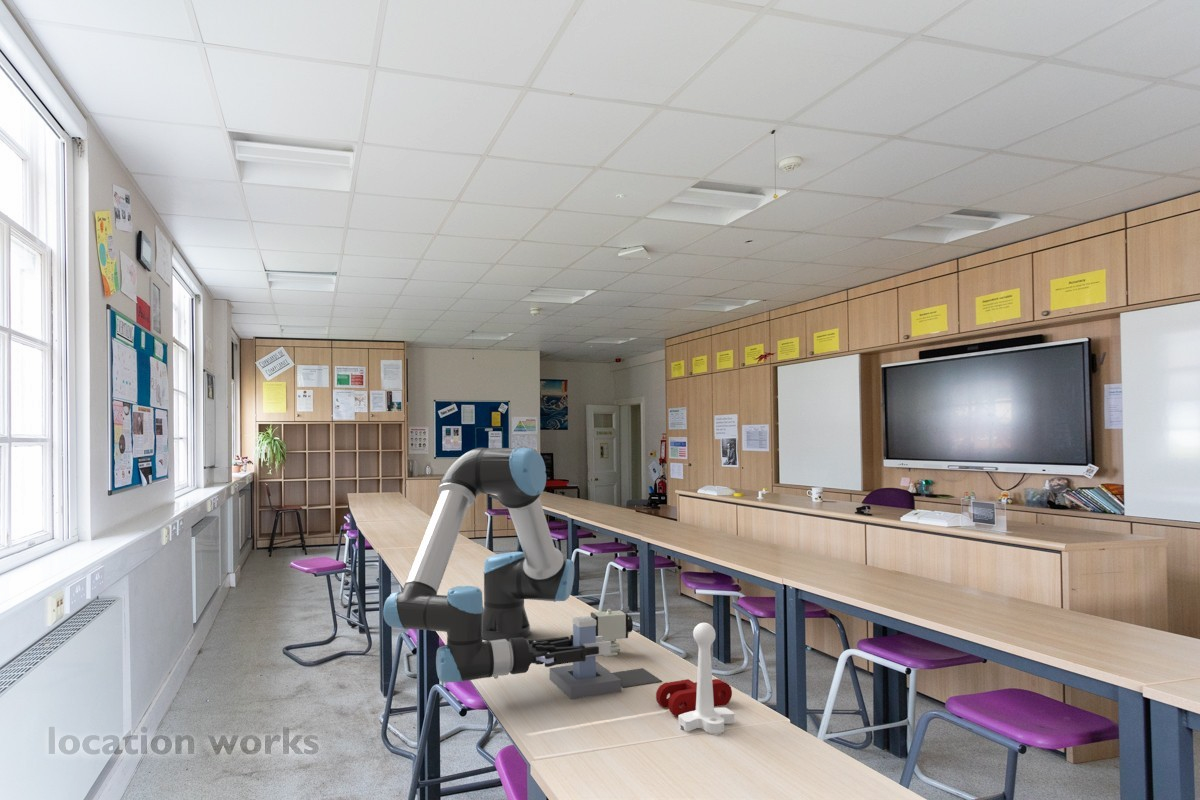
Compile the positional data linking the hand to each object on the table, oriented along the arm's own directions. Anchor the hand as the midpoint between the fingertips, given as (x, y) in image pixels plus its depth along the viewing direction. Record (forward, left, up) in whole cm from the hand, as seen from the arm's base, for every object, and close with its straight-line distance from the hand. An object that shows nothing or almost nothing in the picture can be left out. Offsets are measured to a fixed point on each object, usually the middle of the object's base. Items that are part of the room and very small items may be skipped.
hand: (605, 644), depth 166 cm
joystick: (+31, +9, -9) cm, 33 cm away
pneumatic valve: (-20, +10, -9) cm, 24 cm away
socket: (0, -5, -9) cm, 10 cm away
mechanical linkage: (+21, +12, -9) cm, 26 cm away
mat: (0, +7, -9) cm, 11 cm away
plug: (0, -5, -9) cm, 10 cm away
